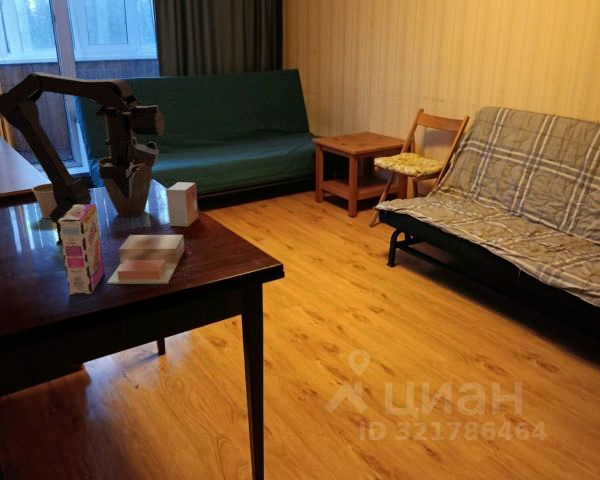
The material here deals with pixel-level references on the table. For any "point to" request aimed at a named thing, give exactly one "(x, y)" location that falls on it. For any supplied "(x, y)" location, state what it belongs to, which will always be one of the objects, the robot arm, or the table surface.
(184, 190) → the small box
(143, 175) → the plant pot
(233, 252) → the table surface
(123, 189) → the robot arm
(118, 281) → the mat
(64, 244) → the candy bar box
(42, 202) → the flower pot
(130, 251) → the deck
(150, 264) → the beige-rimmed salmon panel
